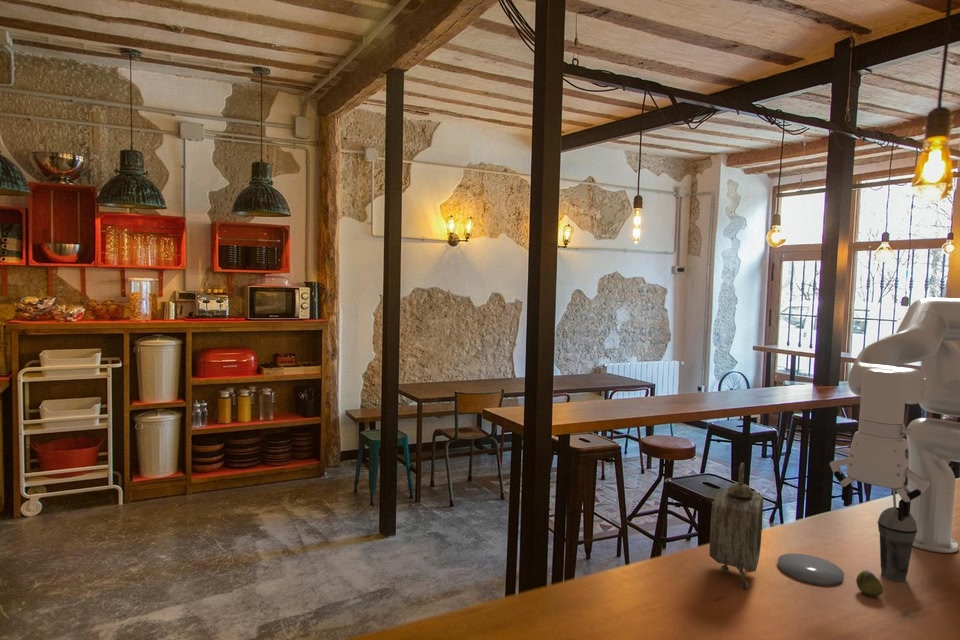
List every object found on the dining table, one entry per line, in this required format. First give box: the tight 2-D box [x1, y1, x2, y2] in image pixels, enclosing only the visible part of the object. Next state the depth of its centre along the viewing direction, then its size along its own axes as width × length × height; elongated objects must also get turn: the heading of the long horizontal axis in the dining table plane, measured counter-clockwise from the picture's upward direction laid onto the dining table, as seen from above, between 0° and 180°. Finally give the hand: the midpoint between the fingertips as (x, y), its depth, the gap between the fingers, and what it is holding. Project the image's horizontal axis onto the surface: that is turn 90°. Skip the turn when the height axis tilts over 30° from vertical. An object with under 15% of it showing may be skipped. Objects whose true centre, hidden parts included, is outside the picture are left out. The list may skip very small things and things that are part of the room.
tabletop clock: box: [708, 462, 764, 589], centre depth 131 cm, size 14×9×25 cm, turn 150°
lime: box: [855, 569, 884, 597], centre depth 125 cm, size 4×5×5 cm
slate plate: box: [777, 553, 845, 586], centre depth 135 cm, size 13×13×1 cm
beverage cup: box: [877, 489, 917, 583], centre depth 132 cm, size 7×7×20 cm
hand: (874, 511), depth 123 cm, fingers open, 9 cm apart
